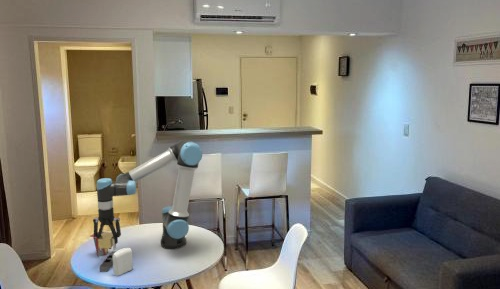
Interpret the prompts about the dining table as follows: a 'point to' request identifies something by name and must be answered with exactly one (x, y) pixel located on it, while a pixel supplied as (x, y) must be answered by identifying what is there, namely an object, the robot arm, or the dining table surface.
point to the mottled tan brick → (106, 241)
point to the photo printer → (122, 261)
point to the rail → (107, 263)
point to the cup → (99, 252)
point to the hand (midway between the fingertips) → (108, 249)
